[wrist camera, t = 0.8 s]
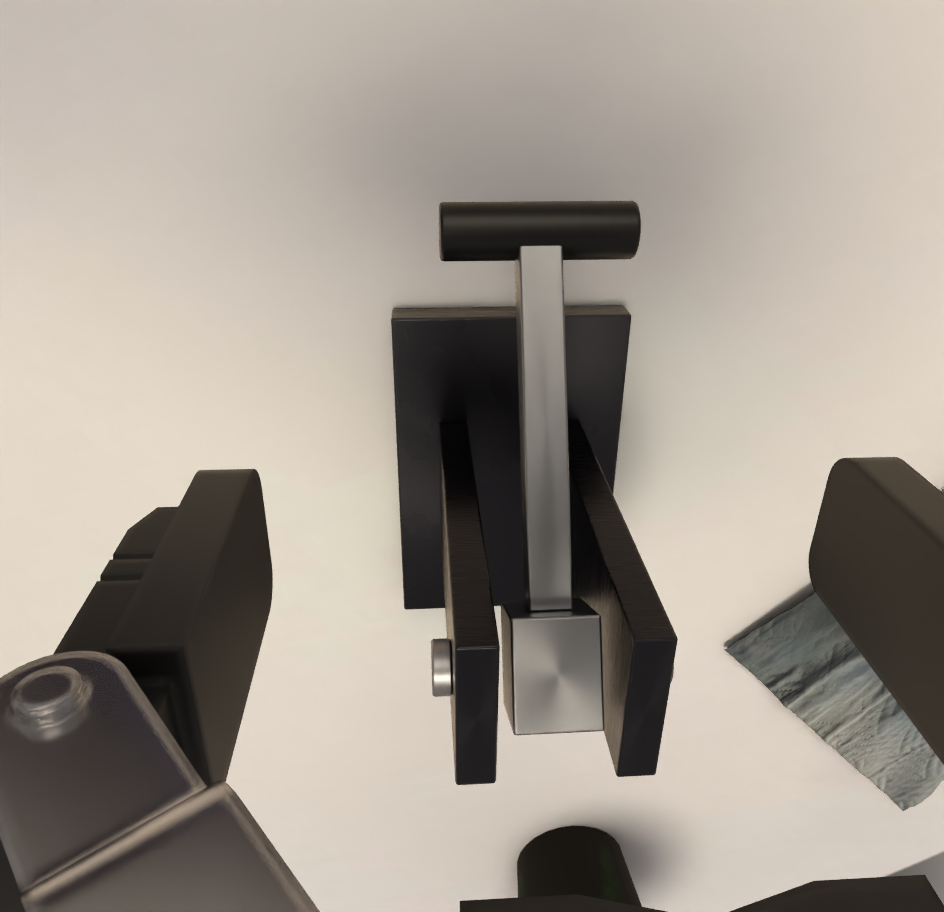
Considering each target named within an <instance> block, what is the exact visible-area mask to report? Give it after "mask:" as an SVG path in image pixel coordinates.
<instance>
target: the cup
mask: <svg viewBox="0 0 944 912" xmlns="http://www.w3.org/2000/svg"><path fill="white" fill-rule="evenodd" d="M517 876H518V898H522V897H540V896H558V895H575V894H578V895H583V896H588V897H594V898H599V899H604V900H609V901H614V902H619V903H624V904H630V905H635V906H640V907H642V906H641V903H640V900H639V898H638V895H637V892H636V889H635V887H634V884H633V881H632V878H631V876H630V873H629V870H628V867H627V865H626V862H625V859H624V857H623V854H622V851H621V848H620V846H619V844H618V843H617V841H616V840H615V839H614V838H613V837H612V836H610V835H609V834H607V833H606V832H603V831H601V830H598V829H595V828H590V827H581V826H571V827H565V828H558V829H555V830H552V831H549V832H546V833H544V834H542V835H540V836H538V837H537V838H535V839H534V840H532V841H531V842H530V843H529V844H527V845H526V847H525V848H524V849H523V851H522V852H521V853H520V856H519V858H518V861H517Z"/></svg>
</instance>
